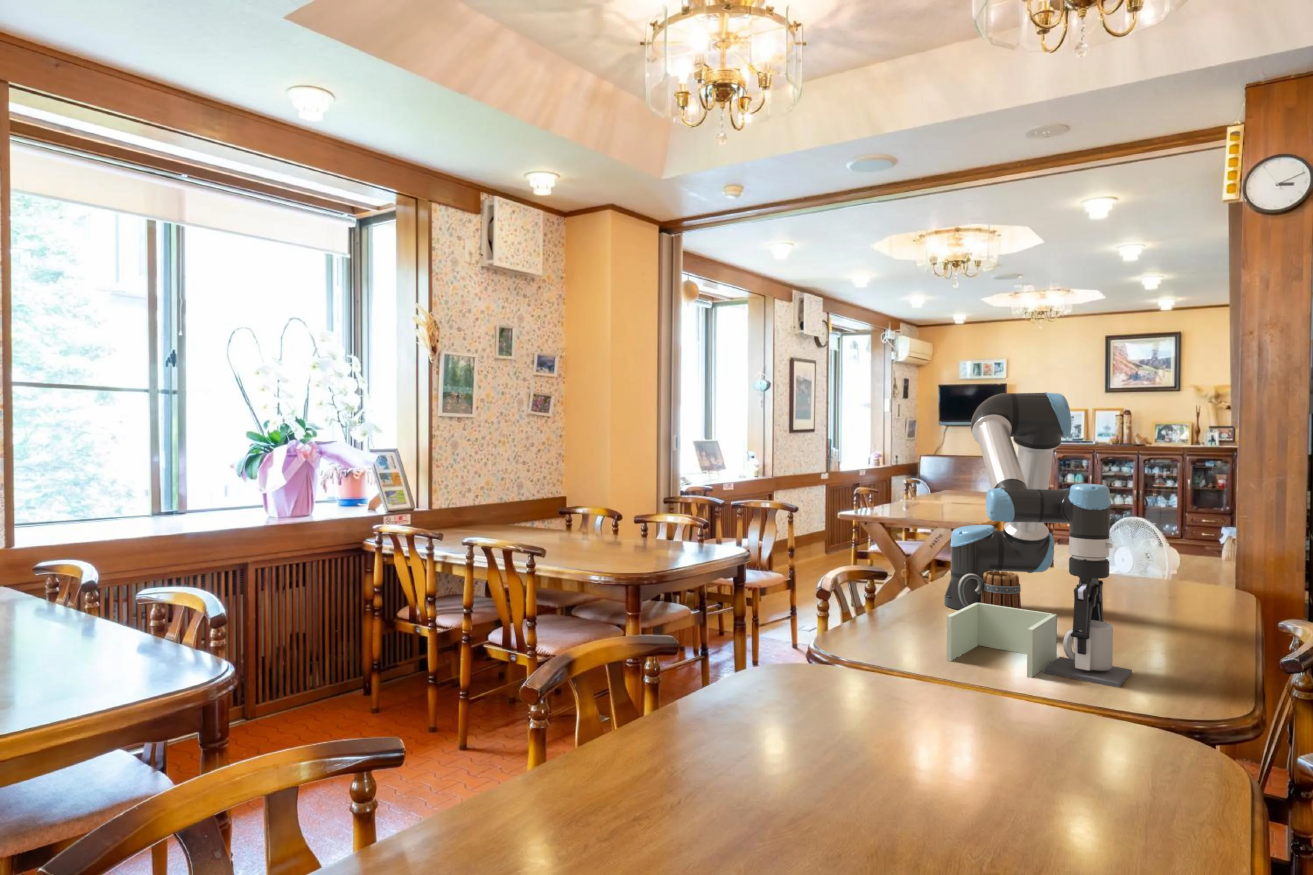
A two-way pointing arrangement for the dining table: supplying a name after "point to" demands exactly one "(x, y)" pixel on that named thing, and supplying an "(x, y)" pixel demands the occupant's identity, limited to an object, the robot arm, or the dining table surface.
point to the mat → (1088, 673)
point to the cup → (1095, 645)
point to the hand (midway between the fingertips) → (1088, 663)
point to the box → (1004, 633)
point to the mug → (995, 589)
